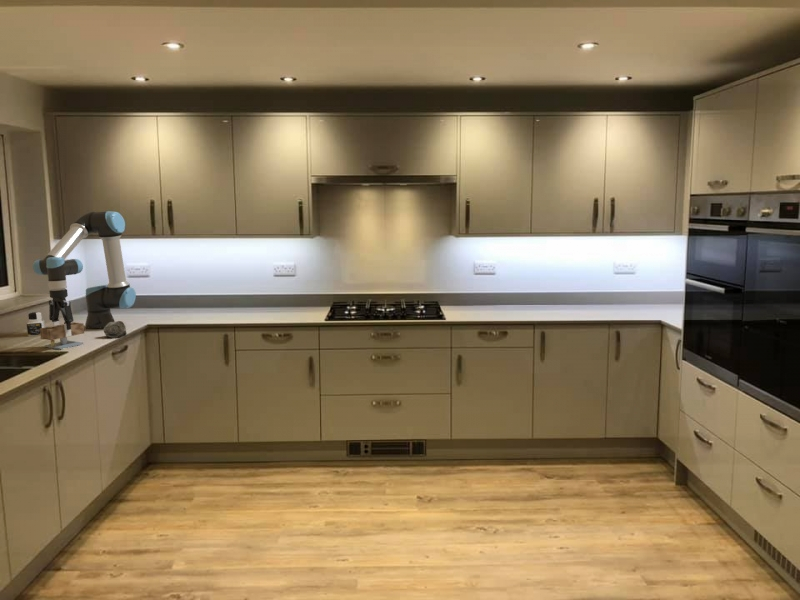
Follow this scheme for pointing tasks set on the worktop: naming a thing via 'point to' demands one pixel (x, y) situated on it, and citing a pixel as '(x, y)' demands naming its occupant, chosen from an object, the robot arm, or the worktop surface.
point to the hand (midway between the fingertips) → (63, 335)
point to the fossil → (115, 329)
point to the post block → (63, 344)
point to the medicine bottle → (35, 324)
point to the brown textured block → (60, 331)
